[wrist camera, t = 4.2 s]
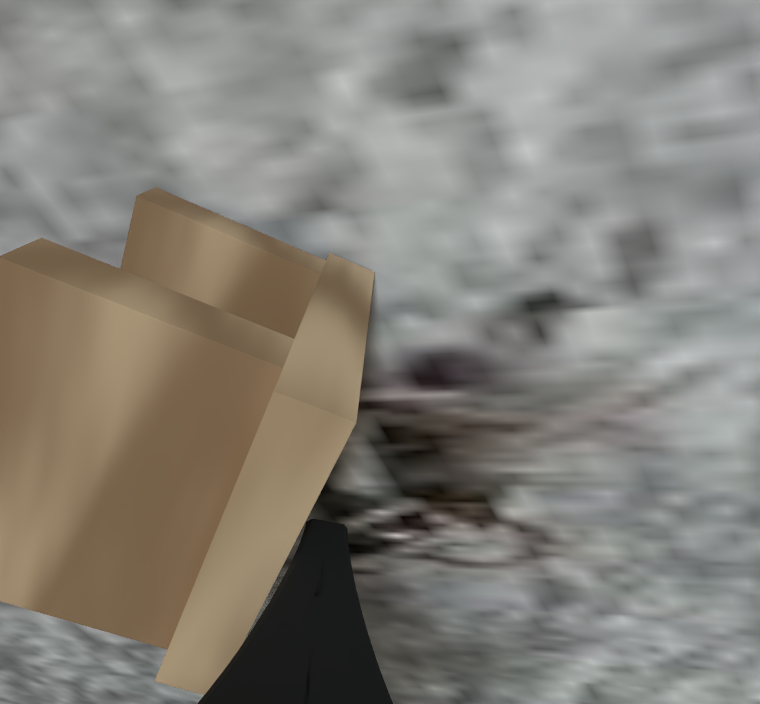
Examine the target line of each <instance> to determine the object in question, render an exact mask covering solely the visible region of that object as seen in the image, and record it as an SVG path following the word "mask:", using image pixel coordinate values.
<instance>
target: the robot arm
mask: <svg viewBox="0 0 760 704" xmlns="http://www.w3.org/2000/svg"><path fill="white" fill-rule="evenodd" d="M198 704H393V703H392V700H391V698H390V695H389V693H388V690H387V688H386V685H385V682H384V680H383V677H382V674H381V672H380V669H379V666H378V663H377V660H376V657H375V654H374V651H373V648H372V645H371V642H370V639H369V636H368V632H367V629H366V625H365V622H364V618H363V615H362V611H361V607H360V603H359V599H358V595H357V591H356V587H355V582H354V577H353V572H352V566H351V561H350V554H349V547H348V535H347V528H346V526H345V525H344V524H339V523H334V522H328V521H322V520H316V519H311V520H309V521H307V522H306V526H305V530H304V533H303V536H302V539H301V542H300V544H299V547H298V549H297V551H296V554H295V556H294V558H293V560H292V562H291V564H290V566H289V568H288V570H287V572H286V574H285V576H284V577H283V579H282V581H281V583H280V585H279V587H278V589H277V590H276V592H275V594H274V596H273V597H272V599H271V601H270V602H269V604H268V606H267V607H266V609H265V610H264V612H263V614H262V615H261V617H260V618H259V620H258V622H257V623H256V625H255V626H254V628H253V629H252V631H251V632H250V634H249V635H248V637H247V638H246V640H245V641H244V643H243V644H242V646H241V647H240V649H239V650H238V651H237V653H236V654H235V656H234V657H233V658H232V660H231V661H230V662H229V664H228V665H227V667H226V668H225V669H224V671H223V672H222V673H221V675H220V676H219V677H218V678H217V680H216V681H215V682H214V684H213V685H212V686H211V687H210V689H209V690H208V691H207V692H206V694H205V695H204V696H203V698H202V699H201V700H200V701H199V703H198Z"/></svg>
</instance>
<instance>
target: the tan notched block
mask: <svg viewBox="0 0 760 704" xmlns="http://www.w3.org/2000/svg"><path fill="white" fill-rule="evenodd" d="M374 274H375V272H373V271H370V270H368V269H366V268H364V267H361V266H359V265H357V264H354V263H352V262H350V261H347V260H345V259H343V258H340V257H338V256H336V255H334V254H331V253H329V254H328V257H327V259H326V260H323V259H321V258H319V257H316V256H314V255H312V254H309V253H307V252H305V251H302V250H300V249H298V248H295V247H293V246H291V245H289V244H286V243H284V242H282V241H279V240H277V239H275V238H272V237H270V236H268V235H265V234H263V233H261V232H258V231H256V230H254V229H251V228H249V227H247V226H244V225H242V224H240V223H237V222H235V221H233V220H230V219H228V218H226V217H223V216H221V215H219V214H217V213H214V212H212V211H210V210H207V209H205V208H203V207H200V206H198V205H196V204H193V203H191V202H189V201H186V200H184V199H182V198H179V197H177V196H175V195H172V194H170V193H168V192H165V191H163V190H161V189H158V188H153V189H151V190H149V191H147V192H144V193H142V194H140V195H138V196H136V201H135V205H134V210H133V214H132V219H131V223H130V228H129V232H128V237H127V242H126V246H125V251H124V255H123V260H122V264H121V269H119V268H116V267H114V266H111V265H109V264H106V263H104V262H101V261H99V260H96V259H94V258H91V257H89V256H86V255H84V254H81V253H79V252H76V251H74V250H71V249H69V248H66V247H64V246H61V245H59V244H56V243H54V242H51V241H49V240H46V239H44V238H40V239H38V240H35V241H33V242H31V243H29V244H26V245H24V246H22V247H20V248H17V249H15V250H13V251H10V252H8V253H6V254H4V255H1V256H0V601H2V602H5V603H8V604H12V605H15V606H19V607H22V608H26V609H29V610H33V611H36V612H40V613H43V614H47V615H50V616H54V617H57V618H60V619H64V620H67V621H71V622H74V623H78V624H81V625H85V626H88V627H92V628H95V629H99V630H102V631H105V632H109V633H112V634H116V635H119V636H123V637H126V638H130V639H133V640H137V641H140V642H144V643H147V644H151V645H154V646H157V647H161V648H164V649H168V650H167V652H166V655H165V657H164V660H163V662H162V665H161V667H160V669H159V672H158V674H157V677H156V679H155V682H159V683H163V684H166V685H170V686H173V687H177V688H181V689H184V690H188V691H191V692H195V693H199V694H202V695H205V694H206V692H207V691H208V690H209V689H210V687H211V686H212V685H213V684H214V682H215V681H216V680H217V678H218V677H219V676H220V675H221V673H222V672H223V671H224V669H225V668H226V667H227V665H228V664H229V662H230V661H231V660H232V658H233V657H234V656H235V654H236V653H237V651H238V650H239V649H240V647H241V646H242V644H243V642H244V640H245V638H246V636H247V634H248V632H249V631H250V629H251V627H252V625H253V623H254V621H255V619H256V617H257V615H258V613H259V611H260V609H261V607H262V605H263V603H264V601H265V599H266V597H267V595H268V594H269V592H270V590H271V588H272V586H273V584H274V582H275V580H276V578H277V576H278V574H279V572H280V570H281V568H282V566H283V564H284V562H285V560H286V559H287V557H288V555H289V553H290V551H291V549H292V547H293V545H294V543H295V541H296V539H297V537H298V535H299V533H300V531H301V529H302V527H303V525H304V524H305V522H306V520H307V518H308V516H309V514H310V512H311V510H312V508H313V506H314V504H315V502H316V500H317V498H318V496H319V494H320V492H321V490H322V488H323V487H324V485H325V483H326V481H327V479H328V477H329V475H330V473H331V471H332V469H333V467H334V465H335V463H336V461H337V459H338V457H339V455H340V453H341V452H342V450H343V448H344V446H345V444H346V442H347V440H348V438H349V436H350V434H351V432H352V430H353V428H354V426H355V424H356V421H357V413H358V405H359V397H360V389H361V380H362V372H363V364H364V356H365V348H366V340H367V331H368V323H369V315H370V307H371V299H372V290H373V282H374Z"/></svg>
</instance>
